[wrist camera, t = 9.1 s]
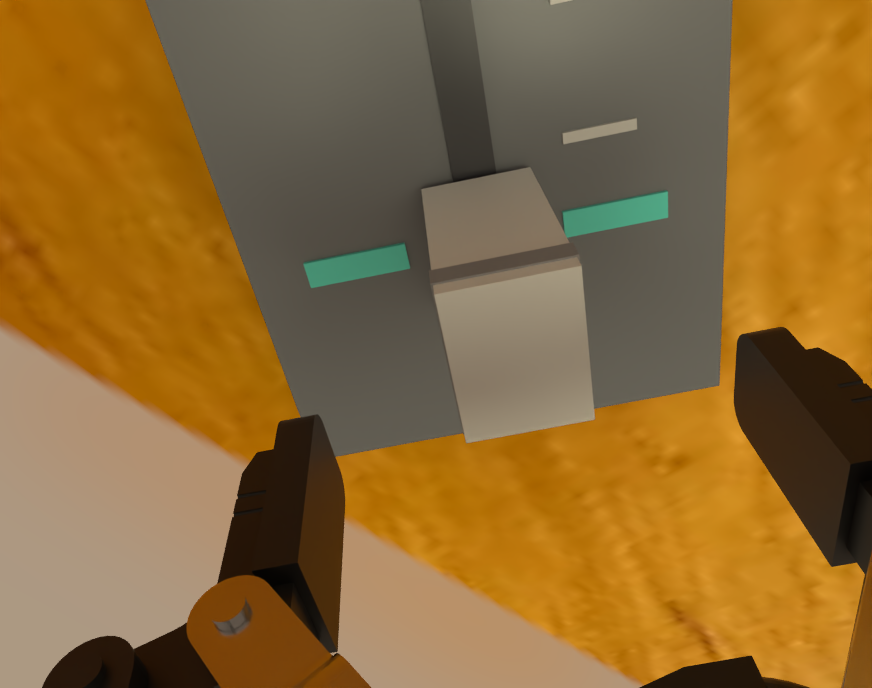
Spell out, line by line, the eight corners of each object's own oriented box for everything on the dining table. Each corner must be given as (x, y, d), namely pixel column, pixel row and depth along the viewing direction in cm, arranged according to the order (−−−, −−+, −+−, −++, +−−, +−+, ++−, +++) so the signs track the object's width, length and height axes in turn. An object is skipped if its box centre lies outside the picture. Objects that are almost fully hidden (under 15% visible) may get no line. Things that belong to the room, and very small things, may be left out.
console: (-64, -680, 13) (-154, -795, 11) (702, -889, 12) (771, -1057, 10) (321, 415, 27) (316, 462, 25) (692, 345, 26) (720, 387, 24)
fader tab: (419, 187, 20) (431, 292, 14) (531, 164, 19) (583, 263, 14) (445, 315, 22) (464, 445, 17) (547, 295, 22) (597, 421, 16)
